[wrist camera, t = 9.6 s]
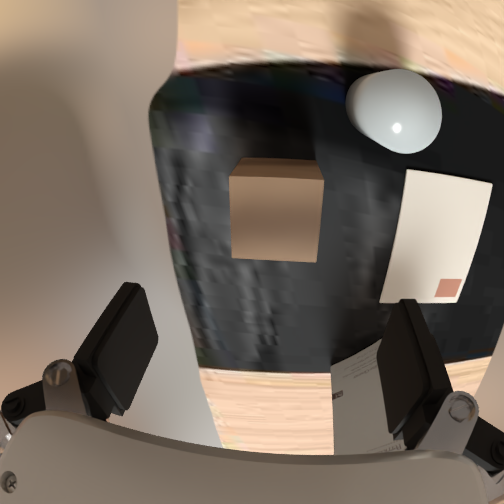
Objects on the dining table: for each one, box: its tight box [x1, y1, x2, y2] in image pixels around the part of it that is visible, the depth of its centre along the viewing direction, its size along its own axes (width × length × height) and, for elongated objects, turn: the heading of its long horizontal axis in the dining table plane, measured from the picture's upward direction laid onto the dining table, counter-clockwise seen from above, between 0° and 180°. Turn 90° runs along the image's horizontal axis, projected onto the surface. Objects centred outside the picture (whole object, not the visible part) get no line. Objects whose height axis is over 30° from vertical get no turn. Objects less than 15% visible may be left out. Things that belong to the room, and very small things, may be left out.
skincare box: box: [330, 339, 405, 455], centre depth 28 cm, size 8×6×15 cm
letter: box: [379, 169, 492, 303], centre depth 25 cm, size 14×10×1 cm
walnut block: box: [229, 158, 324, 262], centre depth 23 cm, size 6×6×6 cm
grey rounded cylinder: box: [345, 69, 442, 153], centre depth 18 cm, size 6×6×6 cm
